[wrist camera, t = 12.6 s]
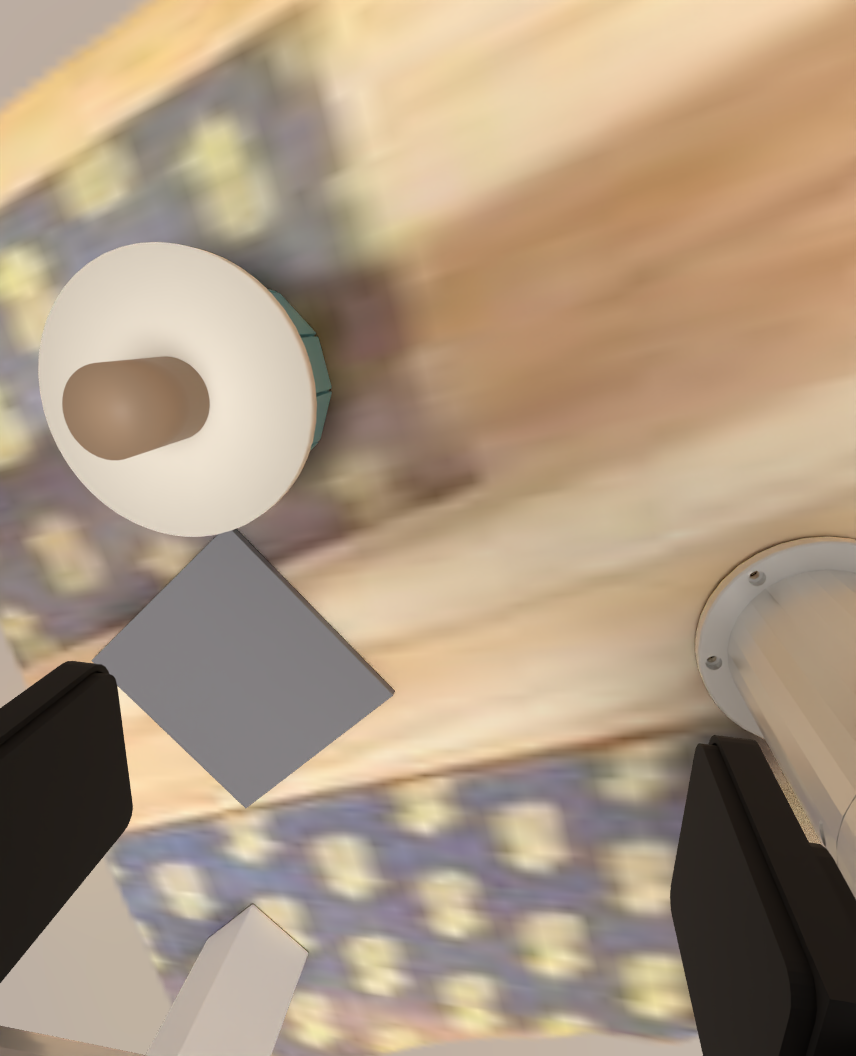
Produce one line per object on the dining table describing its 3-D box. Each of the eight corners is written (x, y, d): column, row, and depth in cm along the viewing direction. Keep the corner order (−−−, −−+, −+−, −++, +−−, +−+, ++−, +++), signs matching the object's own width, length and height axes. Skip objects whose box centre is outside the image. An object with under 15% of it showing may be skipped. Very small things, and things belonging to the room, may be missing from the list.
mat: (394, 691, 43) (393, 695, 42) (248, 803, 48) (245, 808, 47) (230, 523, 41) (226, 525, 41) (96, 657, 46) (91, 660, 45)
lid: (375, 406, 31) (339, 425, 26) (196, 581, 36) (132, 630, 30) (163, 174, 30) (74, 140, 24) (3, 387, 34) (-103, 400, 29)
